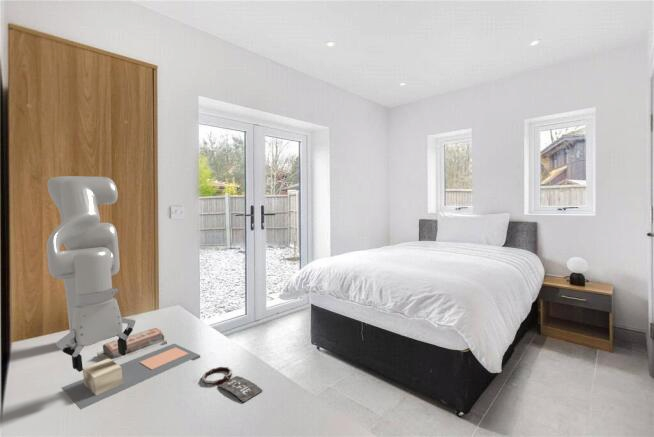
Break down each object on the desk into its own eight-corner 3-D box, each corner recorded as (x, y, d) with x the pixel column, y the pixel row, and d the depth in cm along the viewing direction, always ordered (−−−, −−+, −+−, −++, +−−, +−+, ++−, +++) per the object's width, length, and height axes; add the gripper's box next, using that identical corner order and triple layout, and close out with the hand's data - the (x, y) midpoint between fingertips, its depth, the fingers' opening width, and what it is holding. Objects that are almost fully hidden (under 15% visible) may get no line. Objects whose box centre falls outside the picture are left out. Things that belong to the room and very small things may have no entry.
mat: (61, 389, 83) (61, 386, 83) (174, 345, 107) (174, 342, 107) (81, 411, 73) (80, 408, 73) (200, 357, 97) (200, 354, 97)
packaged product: (155, 324, 115) (166, 330, 108) (156, 337, 115) (167, 344, 109) (95, 343, 101) (104, 351, 95) (96, 357, 101) (105, 367, 95)
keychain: (238, 408, 72) (237, 400, 72) (196, 381, 84) (196, 374, 84) (265, 391, 78) (264, 384, 78) (222, 368, 90) (222, 362, 90)
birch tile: (84, 384, 84) (82, 367, 84) (110, 373, 89) (108, 358, 88) (96, 395, 78) (94, 377, 78) (122, 383, 83) (121, 366, 83)
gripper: (126, 288, 91) (131, 346, 92) (48, 305, 78) (55, 373, 78) (137, 290, 87) (143, 351, 87) (56, 309, 73) (64, 381, 74)
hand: (101, 361), depth 83 cm, fingers open, 9 cm apart
